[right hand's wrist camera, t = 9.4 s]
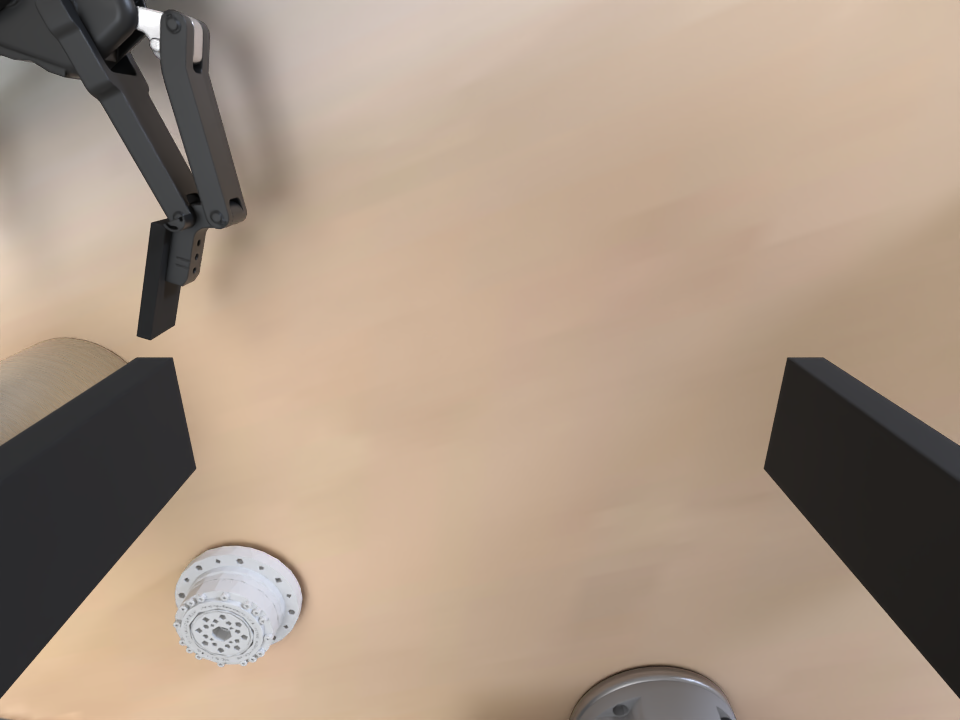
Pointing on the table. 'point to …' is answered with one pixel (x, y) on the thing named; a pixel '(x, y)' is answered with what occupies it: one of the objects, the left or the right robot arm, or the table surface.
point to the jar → (48, 380)
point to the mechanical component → (235, 604)
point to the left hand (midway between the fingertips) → (33, 294)
